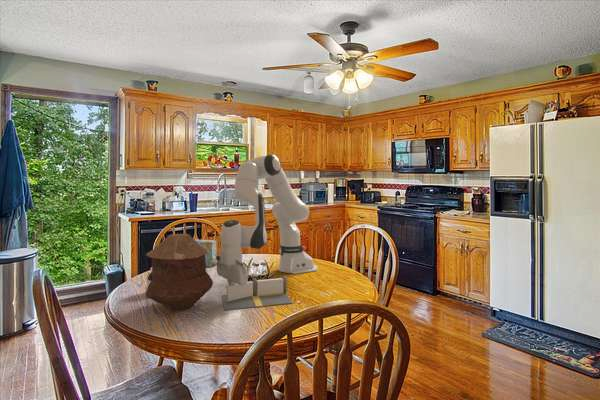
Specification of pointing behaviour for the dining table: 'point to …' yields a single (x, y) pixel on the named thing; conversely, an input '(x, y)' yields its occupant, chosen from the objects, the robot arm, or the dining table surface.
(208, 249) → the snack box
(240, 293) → the hinged panel
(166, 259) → the pottery vessel
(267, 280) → the block
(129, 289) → the dining table surface
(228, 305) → the card
